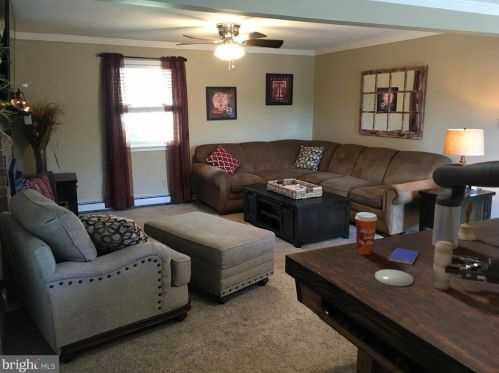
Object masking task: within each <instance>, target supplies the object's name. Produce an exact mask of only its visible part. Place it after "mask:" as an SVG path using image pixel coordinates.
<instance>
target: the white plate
mask: <svg viewBox="0 0 499 373" xmlns="http://www.w3.org/2000/svg"><path fill="white" fill-rule="evenodd" d="M374 278H375V280H377V281H378V282H379V283H381V284H383V285H387V286H391V287H408V286H411V285H412V284H413V283H414V277H413V276H412V275H411V274H409V273H407V272H405V271H402V270H397V269H381V270H377V271H376V272H375V273H374Z"/></svg>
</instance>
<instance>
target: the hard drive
mask: <svg viewBox="0 0 499 373" xmlns="http://www.w3.org/2000/svg"><path fill="white" fill-rule="evenodd" d="M418 255H419V251H418V250H417V251H416V250H413V249H412V250H411V249H405V248H400V247H396V248H395V250H394V251H393V252H392V253H391V255H390V256H389V257H388V261H391V262H396V263H402V264H407V265H413V264H414V262H415V261H416V259H417V258H418Z"/></svg>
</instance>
